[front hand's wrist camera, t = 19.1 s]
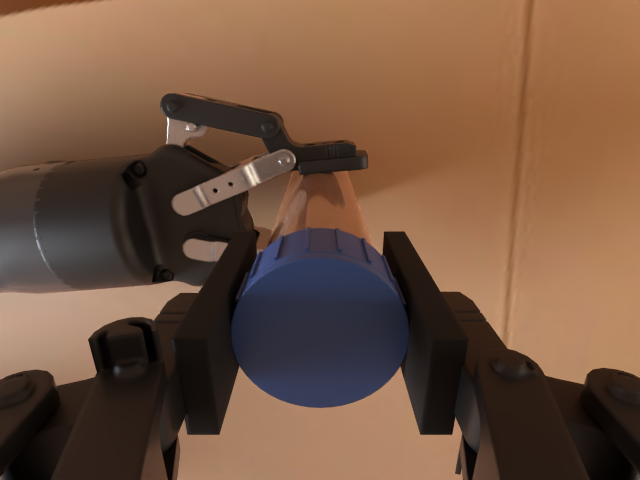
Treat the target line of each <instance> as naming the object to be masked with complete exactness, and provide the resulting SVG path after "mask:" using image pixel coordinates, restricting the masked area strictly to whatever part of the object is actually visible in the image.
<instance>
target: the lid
mask: <svg viewBox="0 0 640 480" xmlns="http://www.w3.org/2000/svg"><path fill="white" fill-rule="evenodd" d="M235 302H237V304H236V307H235V309H234V313H233V316H232V320H231V340H232V348H233V352H234V354H235V357H236V360H237V361H238V363H239V365H240V367H241V369H242V370H243V371H244V373H245V374H246V376H247V377H248V378H249V379H250V380H251V381H252V382H253V383H254V384H255V385H257V386H258V387H259V388H260V389H262V390H263V391H265V392H266V393H268V394H269V395H271V396H273V397H275V398H277V399H279V400H282V401H285V402H287V403H291V404H295V405H299V406H305V407H315V408H325V407H335V406H342V405H346V404H349V403H353V402H355V401H358V400H361V399H363V398H365V397H367V396H369V395H371V394H372V393H374V392H375V391H377V390H378V389H380V388H381V387H382V386H383V385H385V384H386V383H387V382H388V381H389V380H390V379H391V378H392V377H393V376H394V374H395V373H396V372H397V370H398V369H399V367H400V366H401V364H402V362H403V360H404V358H405V355H406V352H407V347H408V338H409V320H408V316H407V313H406V309H405V307H407V304H406V302H405V299H404V297H403V294H402V292H401V289H400V287H399V284H398V282H397V279H396V277H393V275H392V273H391V270H390V268H389V265H388V263H387V260H386V258H385V256H384V255H382V256H381V255H380V254H379V253H378V251H377V250H376V249H375V248H373V247H372V246H371V245H370V244H369V243H367V242H366V239H365V238H362V239H361V238H359V237H357V236H355V235H353V234H350V233H347V232H344V231H341V230H339V228H336V229H330V228H310V227H307V229H304V230H299V231H296V232H293V233H290V234H287V235H285V236H283V235H281V236H279V239H278V240H276V241H275V242H273V243H271V244H270V245H269V246H268V247H267V248H266V249H264V250H263V252H262V251H259V252H258V255H257V257H256V260H255V262H254V263H253V265H252V267H251V269H250V271H249V273H248V272H246V274H245V277H244V279H243V281H242V284H241V286H240V289H239V291H238V294H237V296H236V299H235Z"/></svg>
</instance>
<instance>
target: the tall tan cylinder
mask: <svg viewBox="0 0 640 480" xmlns="http://www.w3.org/2000/svg"><path fill="white" fill-rule="evenodd" d="M307 227H310V228H330V229H336V228H339V230H341V231H344V232H347V233H350V234H353V235H355V236H357V237H359V238H361V239H362V238H365V239H366V242H367V243H369V244H370V245H371V246H372V247H373V244H372V242H371V239H370V236H369V233H368V230H367V227H366V224H365V221H364V218H363V215H362V212H361V209H360V207H359V204H358V201H357V198H356V195H355V192H354V189H353V186H352V183H351V180H350V177H349V174H348V171H340V172H329V173H315V174H307V175H300V174H299V170H298V171H292V174H291V177H290V180H289V183H288V186H287V189H286V192H285V195H284V198H283V201H282V203H281V206H280V209H279V212H278V215H277V218H276V221H275V224H274V227H273V230H272V233H271V236H270V239H269V242H268V245H267V247H268V246H269V245H270V244H271V243H273V242H275V241H276V240H278V239H279V236H281V235H283V236H285V235H287V234H290V233H293V232H296V231H299V230H304V229H307ZM373 248H374V247H373Z"/></svg>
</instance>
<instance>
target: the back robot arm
mask: <svg viewBox="0 0 640 480" xmlns="http://www.w3.org/2000/svg"><path fill="white" fill-rule="evenodd" d="M160 106H161V110H162V112H163V114H164V115H165V116H166V117H168V121H167V139H166V145H163V146H161V147H159V148H158V149H157V150H155V151H154V152H153V153H151V154H146V155H135V156H125V157H114V158H103V159H93V160H82V161H71V162H66V161H50V162H46V163H43V164H40V165H30V166H22V167H16V168H11V169H7V170H3V171H0V292H19V293H56V292H68V291H79V290H92V289H105V288H117V287H130V286H142V285H153V284H159V283H163V282H168V281H180V282H184V283H187V284H189V285H192V286H200V287H201V288H202V287H203V285H204V283H205V282H206V280H207V278H208V277H209V275H210V273H211V272H212V270H213V268H214V266H215V265H216V263H217V261H218V260H219V258H220V256H221V255H222V253H223V251H224V250H225V248H226V246H227V245H228V243H229V241H230V240H231V238H232V236H233V235H234V233H235V232H256V244H257V255H258V252H259V251H262V252H263V250H264V249H266V248H267V245H268V242H269V239H270V236H271V233H272V230H270V229H266V228H261V227H256V226H254V224H253V219H252V217H251V215H250V212H249V210H248V208H247V204H248V195H249V194H248V190H249V189H251V188H253V187H255V186H257V185H258V184H260V183H262V182H264V181H267V180H269V179H272V178H274V177H277V176H279V175H282V174H284V173H286V172H289V171H298V170H299V174H300V175H307V174H315V173H329V172H340V171H350V170H361V169H366V168H368V154H367V153H366V152H365V151H364V150H356V145H355V144H354V143H353V142H350V141H347V140H338V141H328V142H317V143H306V144H299V143H296V142H294V141H293V140H292V139H291V138H290V136H289V134H288V132H287V130H286V128H285V126H284V122H283V118H282V117H281V115H280V114H278V113H276V112H272V111H268V110H263V109H258V108H254V107H249V106H244V105H240V104H235V103H231V102H226V101H221V100H217V99H212V98H207V97H203V96H198V95H194V94H189V93H174V94H167V95H165V96H164V97H163V98H162V100H161V103H160ZM211 127H212V128H217V129H222V130H226V131H231V132H236V133H241V134H245V135H250V136H255V137H260V138H262V140H263V142H264V144H265V146H266V148H267V150H268V151H266V152H263V153H261V154H259V155H255V156H252V157H250V158H247V159H245V160H243V161H240V162H238V163H235V164H233V165H231V166H228V167H227V166H225V165H223V164H222V163H220V162H218V161H216V160H215V159H213V158H211V157H209V156H207V155H206V154H204V153H202V152H200V151H199V150H197V149H195V148H193V147H191V146H190V145H189V142H190V140H191V139H192V138H193V137H195V138H198V137H202V136H204V135H207V134H208V133H209V132H210V130H211ZM369 236H370V235H369ZM370 239H371V238H370Z"/></svg>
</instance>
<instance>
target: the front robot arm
mask: <svg viewBox="0 0 640 480" xmlns="http://www.w3.org/2000/svg"><path fill="white" fill-rule="evenodd" d="M383 255H384V256H385V258H386V260H387V263H388V265H389V268H390V270H391V273H392V275H393V277H396V279H397V282H398V284H399V287H400V289H401V292H402V294H403V297H404V299H405V302H406V304H407V307H405V309H406V313H407V316H408V320H409V338H408V347H407V352H406V355H405V358H404V360H403V362H402V364H401V370H402V373H403V377H404V380H405V383H406V387H407V390H408V394H409V397H410V401H411V404H412V407H413V411H414V414H415V418H416V421H417V425H418V428H419V432H420V435H452V433H453V427H454V421H455V416H456V419H457V421H458V424H459V426H460V428H461V431H462V438H461V444H460V449H459V454H458V460H457V465H456V472H455V474H461V469H462V475H463V480H640V378H639V377H637V376H635V375H633V374H630V373H627V372H624V371H620V370H616V369H607V368H600V369H594V370H592V371H591V372H589V373H588V374H587V376H586V380H585V383H584V384H579V383H574V382H570V381H565V380H560V379H555V378H552V377H548V376H545V375H544V373H543V371H542V370H541V368H540V367H539V366H538V364H537V363H535V362H534V361H533V360H532V359H530V358H529V357H528V356H525V355H523V354H521V353H519V352H517V351H514V350H510V349H507V348H506V346H505V345H504V343H503V342H502V341H501V339H500V338H499V337H498V335H497V334H496V332H495V331H494V330H493V328H492V327H491V325H490V324H489V323H488V322H486V319H485V317H484V316H483V314H482V313H480V310H479V309H478V308H477V306H476V305H475V303H474V302H473V301H472V300H471V299H469V298H468V297H466V296H465V295H463V294H462V293H460V292H440V290H439V289H438V287H437V285H436V284H435V282H434V280H433V279H432V277H431V275H430V274H429V272H428V270H427V269H426V267H425V265H424V264H423V262H422V260H421V259H420V257H419V255H418V254H417V252H416V250H415V249H414V247H413V245H412V243H411V242H410V240H409V238H408V237H407V235H406V233H405V232H384V241H383ZM256 257H257V244H256V232H235V233H234V235H233V236H232V238H231V240H230V241H229V243H228V245H227V246H226V248H225V250H224V251H223V253H222V255H221V256H220V258H219V260H218V261H217V263H216V265H215V266H214V268H213V270H212V272H211V273H210V275H209V277H208V278H207V280H206V282H205V283H204V285H203V287H202V288H201V290H200V292H199V293H180V294H179V295H177V296H176V297H174V298H173V299H171V300H170V301H168V302H167V303H166V305H165V306H164V307H163V309H162V310H161V312H160V314H158V316H157V317H156V319H155V320H154V321H153V320H152V319H148V318H143V317H132V318H126V319H121V320H117V321H115V322H112V323H110V324H107V325H105V326H103V327H102V328H100V329H99V330H97V331H96V332H94V333H93V335H92V336H91V337H90V338H89V339H88V341H89V345H90V348H91V352H92V356H93V359H94V363H95V367H96V370H97V374H96V376H95V377H94V378H91V379H87V380H83V381H78V382H73V383H69V384H64V385H59V386H56V384H55V380H54V377H53V376H52V375H51V374H50V373H49V372H48V371H42V370H30V371H23V372H19V373H16V374H12V375H10V376H7V377H5V378H3V379H1V380H0V480H177V476H178V467H179V458H180V444H179V438H178V432H179V430H180V427H181V425H182V423H183V420H184V418H185V423H186V429H187V434H188V435H219V434H220V431H221V427H222V424H223V420H224V417H225V414H226V410H227V407H228V403H229V400H230V396H231V393H232V390H233V386H234V383H235V379H236V376H237V372H238V369H239V366H240V365H239V363H238V361H237V360H236V357H235V354H234V352H233V348H232V340H231V320H232V316H233V313H234V309H235V307H236V304H237V302H235V299H236V296H237V294H238V291H239V289H240V286H241V284H242V281H243V279H244V277H245V274H246V272H248V273H249V271H250V269H251V267H252V265H253V263H254V262H255V260H256Z"/></svg>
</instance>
